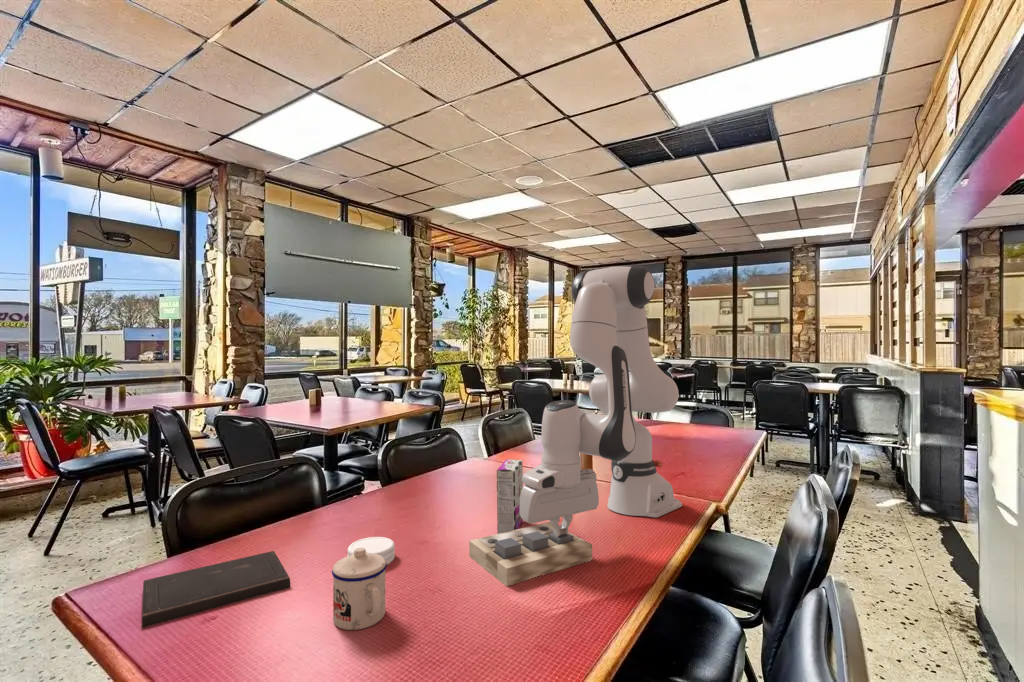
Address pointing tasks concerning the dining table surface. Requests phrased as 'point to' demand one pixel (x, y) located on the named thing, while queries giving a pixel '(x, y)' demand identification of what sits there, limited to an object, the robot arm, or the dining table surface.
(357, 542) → the white round disc stack
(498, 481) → the candy bar box
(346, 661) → the dining table surface
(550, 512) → the robot arm
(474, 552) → the button board
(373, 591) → the teacup with lid
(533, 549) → the middle button
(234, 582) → the hardcover book
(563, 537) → the button
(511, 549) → the button
